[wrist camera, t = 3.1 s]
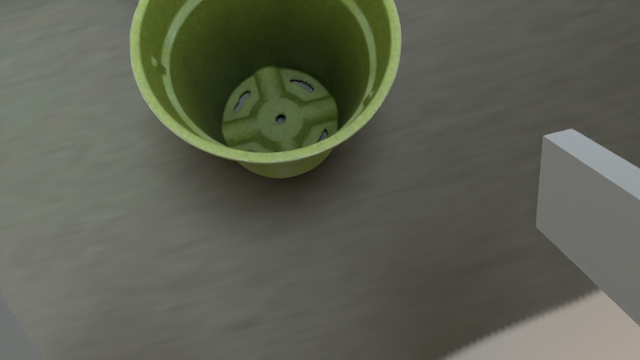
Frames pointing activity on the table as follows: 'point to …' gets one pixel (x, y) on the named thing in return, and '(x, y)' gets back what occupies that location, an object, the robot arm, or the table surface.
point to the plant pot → (265, 74)
